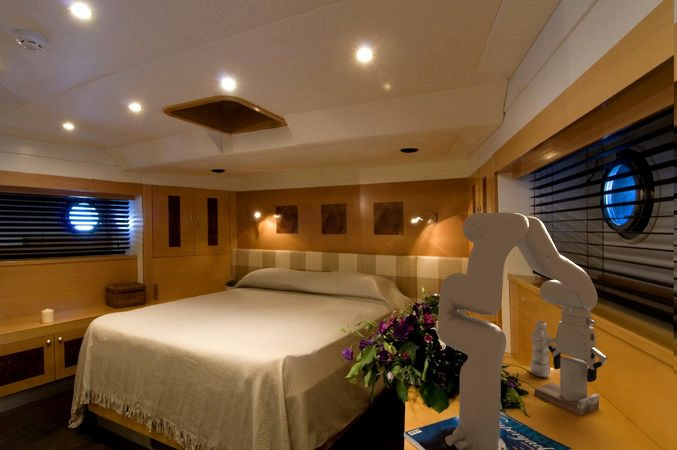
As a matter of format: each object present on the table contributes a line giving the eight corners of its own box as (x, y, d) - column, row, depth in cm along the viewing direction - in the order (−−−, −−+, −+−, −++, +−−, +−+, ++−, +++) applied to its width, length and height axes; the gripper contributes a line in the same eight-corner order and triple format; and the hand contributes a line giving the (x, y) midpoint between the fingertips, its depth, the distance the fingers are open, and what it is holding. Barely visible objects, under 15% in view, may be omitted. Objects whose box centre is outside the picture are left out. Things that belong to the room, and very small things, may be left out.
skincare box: (579, 395, 108) (580, 358, 108) (587, 402, 104) (588, 363, 104) (559, 394, 109) (559, 356, 109) (566, 400, 105) (566, 362, 105)
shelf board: (582, 416, 100) (582, 402, 100) (534, 394, 112) (534, 382, 112) (599, 408, 104) (600, 395, 104) (552, 388, 117) (552, 376, 117)
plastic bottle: (532, 378, 125) (533, 324, 125) (528, 370, 131) (529, 319, 131) (552, 380, 123) (553, 325, 123) (547, 373, 129) (548, 320, 129)
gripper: (614, 326, 100) (612, 384, 100) (554, 312, 116) (552, 362, 115) (600, 329, 97) (599, 389, 97) (540, 314, 112) (539, 366, 112)
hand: (573, 374), depth 106 cm, fingers open, 9 cm apart
